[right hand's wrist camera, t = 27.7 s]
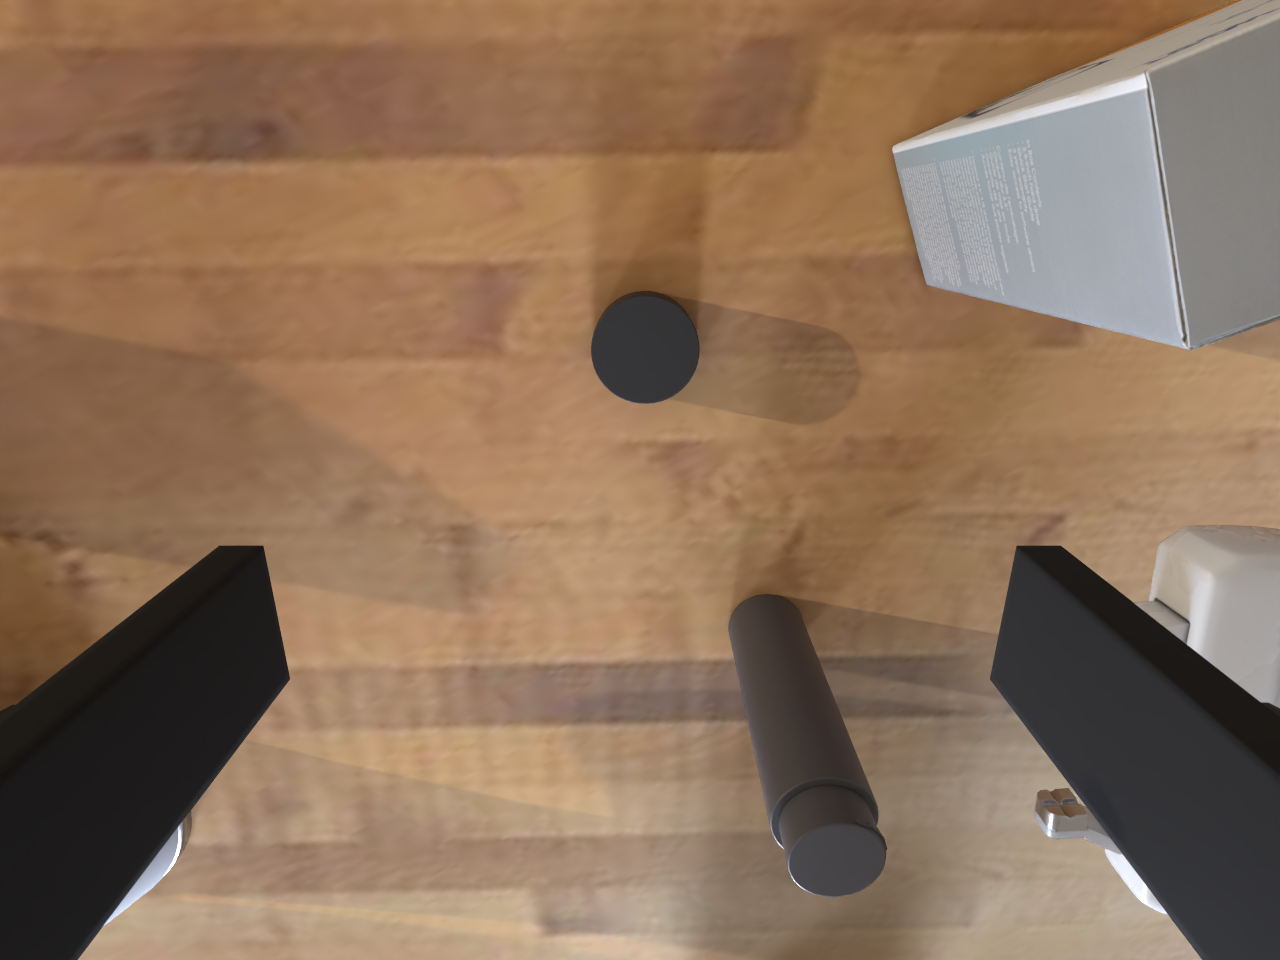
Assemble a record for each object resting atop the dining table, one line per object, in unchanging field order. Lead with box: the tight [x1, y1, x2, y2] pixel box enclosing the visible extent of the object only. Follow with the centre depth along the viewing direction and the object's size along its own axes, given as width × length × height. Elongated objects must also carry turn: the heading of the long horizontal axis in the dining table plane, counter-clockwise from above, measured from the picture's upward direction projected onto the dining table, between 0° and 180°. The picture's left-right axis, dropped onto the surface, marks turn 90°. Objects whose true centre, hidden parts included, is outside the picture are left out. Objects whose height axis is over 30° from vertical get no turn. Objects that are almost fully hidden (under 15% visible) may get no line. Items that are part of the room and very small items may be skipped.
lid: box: [591, 291, 699, 404], centre depth 38 cm, size 6×6×2 cm
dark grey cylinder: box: [729, 595, 887, 897], centre depth 37 cm, size 5×5×18 cm
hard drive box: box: [892, 0, 1280, 350], centre depth 26 cm, size 16×8×20 cm, turn 112°
